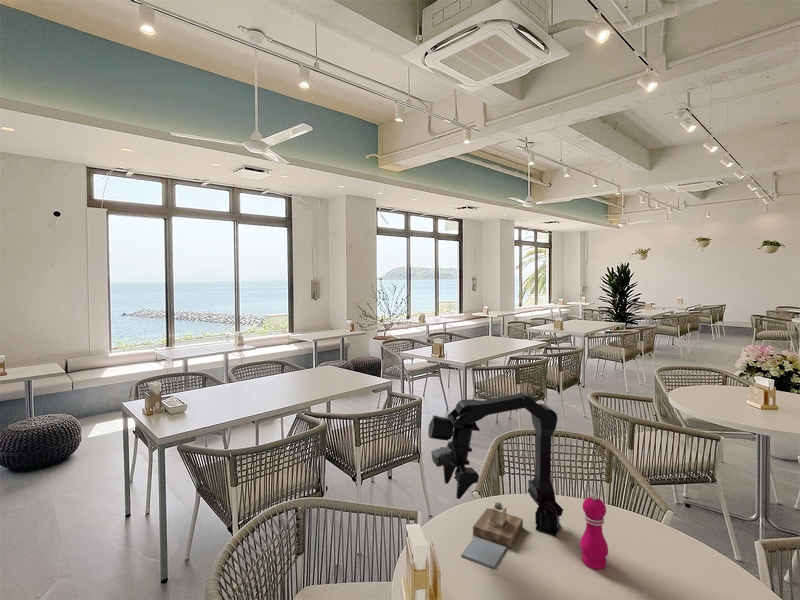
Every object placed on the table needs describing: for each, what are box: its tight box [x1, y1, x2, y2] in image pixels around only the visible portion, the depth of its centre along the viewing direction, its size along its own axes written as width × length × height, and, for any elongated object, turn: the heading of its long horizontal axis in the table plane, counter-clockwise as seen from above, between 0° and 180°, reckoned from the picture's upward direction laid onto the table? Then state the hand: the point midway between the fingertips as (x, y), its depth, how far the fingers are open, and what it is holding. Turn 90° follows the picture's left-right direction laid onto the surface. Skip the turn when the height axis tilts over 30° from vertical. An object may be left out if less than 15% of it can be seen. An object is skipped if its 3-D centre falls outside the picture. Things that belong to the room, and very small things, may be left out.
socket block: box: [472, 508, 524, 549], centre depth 136 cm, size 12×12×3 cm
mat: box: [460, 536, 507, 569], centre depth 126 cm, size 10×10×1 cm
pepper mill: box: [579, 492, 609, 571], centre depth 120 cm, size 7×7×20 cm
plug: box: [489, 502, 507, 528], centre depth 135 cm, size 4×4×9 cm
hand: (452, 490), depth 132 cm, fingers open, 9 cm apart
